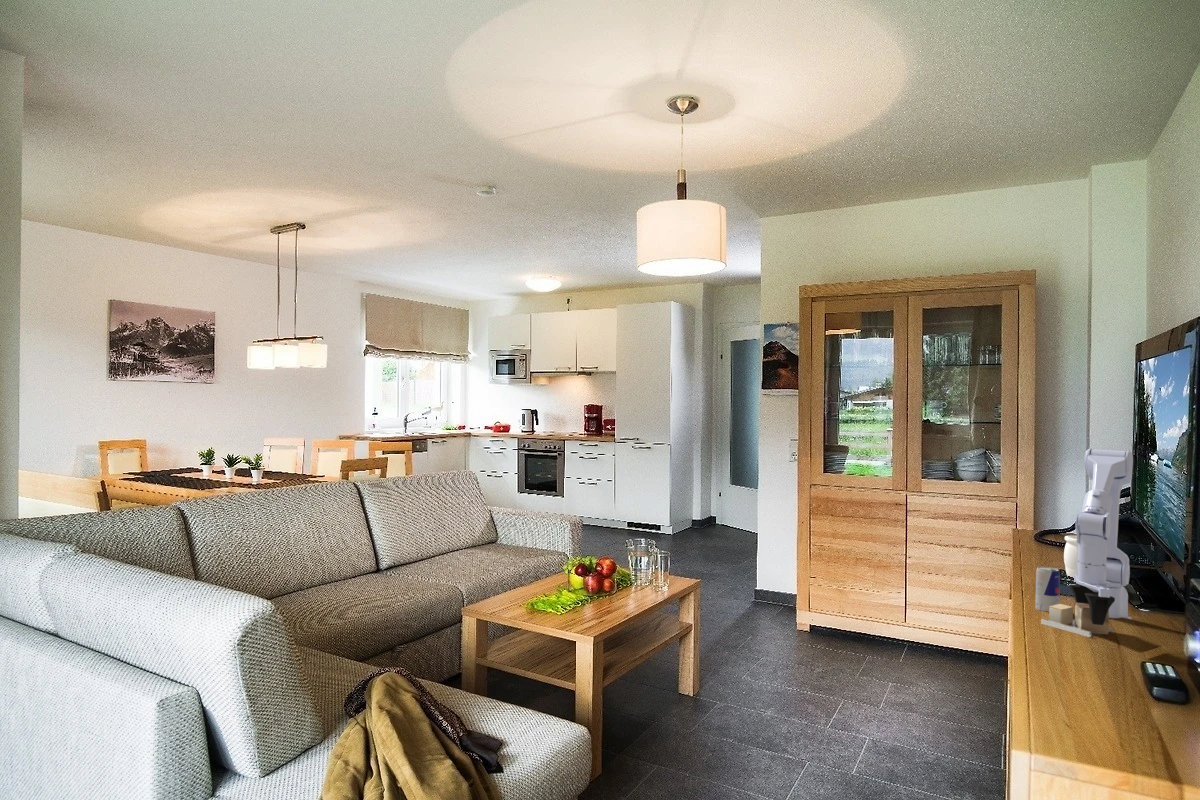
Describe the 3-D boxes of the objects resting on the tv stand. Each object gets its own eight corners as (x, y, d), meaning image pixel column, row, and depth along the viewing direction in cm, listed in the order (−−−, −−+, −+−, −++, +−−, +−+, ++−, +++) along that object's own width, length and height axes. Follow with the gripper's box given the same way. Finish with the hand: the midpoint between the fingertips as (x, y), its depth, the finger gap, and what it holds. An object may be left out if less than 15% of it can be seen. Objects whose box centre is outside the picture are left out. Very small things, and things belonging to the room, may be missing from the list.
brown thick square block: (1074, 627, 175) (1074, 602, 175) (1100, 629, 174) (1101, 604, 174) (1081, 632, 171) (1081, 607, 171) (1108, 634, 170) (1108, 609, 170)
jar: (1098, 584, 222) (1099, 536, 222) (1110, 593, 213) (1111, 542, 213) (1059, 581, 226) (1060, 533, 226) (1068, 589, 216) (1069, 539, 216)
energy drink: (1062, 617, 187) (1063, 571, 187) (1039, 615, 188) (1041, 570, 188) (1053, 611, 192) (1054, 567, 192) (1031, 610, 193) (1033, 565, 193)
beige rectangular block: (1059, 619, 181) (1060, 603, 181) (1072, 622, 178) (1072, 606, 178) (1048, 622, 179) (1048, 606, 179) (1060, 625, 176) (1061, 609, 176)
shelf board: (1065, 622, 183) (1065, 613, 183) (1113, 635, 173) (1113, 625, 173) (1040, 628, 177) (1041, 618, 177) (1089, 642, 168) (1089, 632, 168)
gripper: (1125, 571, 165) (1124, 630, 165) (1097, 557, 179) (1095, 612, 179) (1090, 569, 166) (1089, 627, 166) (1065, 555, 180) (1064, 609, 180)
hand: (1090, 619), depth 173 cm, fingers open, 7 cm apart
